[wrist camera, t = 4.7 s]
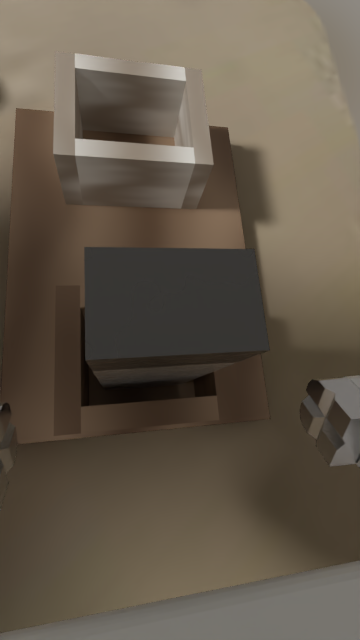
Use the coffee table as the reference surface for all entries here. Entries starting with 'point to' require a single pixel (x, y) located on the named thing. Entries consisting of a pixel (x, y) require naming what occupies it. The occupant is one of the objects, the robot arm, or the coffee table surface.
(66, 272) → the caddy
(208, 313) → the brushed metal bar
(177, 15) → the coffee table surface
